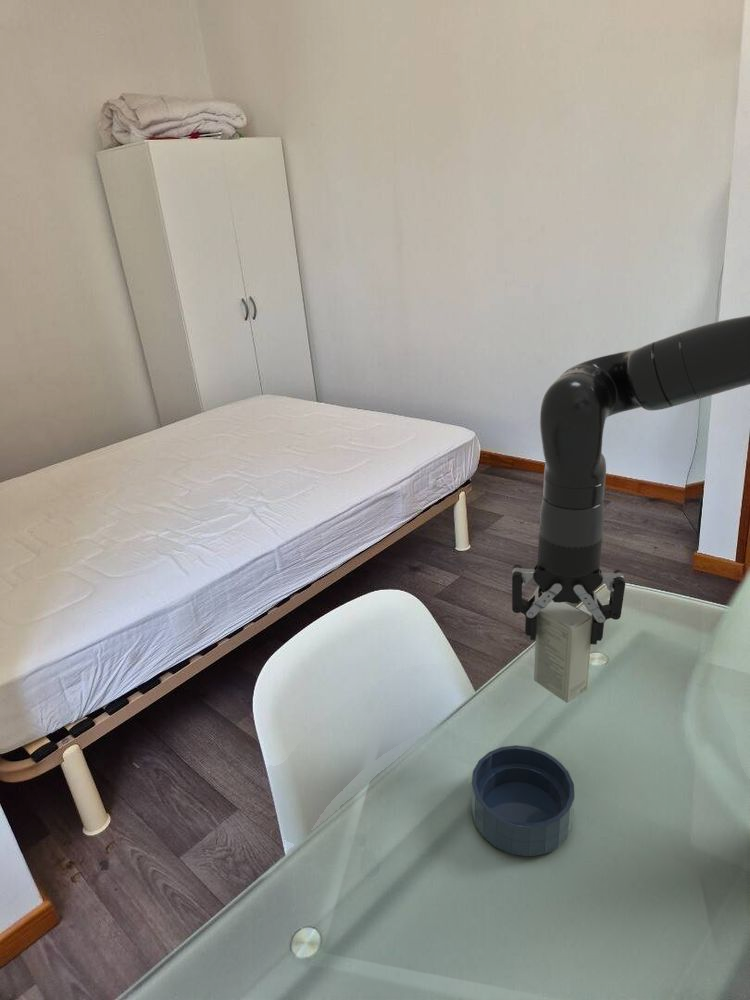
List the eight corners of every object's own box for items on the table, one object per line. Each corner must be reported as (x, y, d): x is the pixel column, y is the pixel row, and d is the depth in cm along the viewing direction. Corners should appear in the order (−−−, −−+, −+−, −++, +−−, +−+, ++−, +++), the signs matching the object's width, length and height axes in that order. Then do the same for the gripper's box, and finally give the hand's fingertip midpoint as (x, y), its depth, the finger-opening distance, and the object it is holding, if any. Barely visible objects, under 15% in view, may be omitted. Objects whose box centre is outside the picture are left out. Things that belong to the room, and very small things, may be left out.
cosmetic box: (588, 690, 93) (596, 617, 88) (566, 705, 91) (573, 630, 86) (552, 667, 98) (558, 595, 93) (530, 680, 96) (535, 607, 91)
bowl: (569, 782, 98) (572, 751, 95) (572, 866, 86) (576, 834, 84) (476, 770, 100) (476, 740, 98) (467, 850, 89) (467, 818, 86)
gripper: (510, 542, 82) (507, 652, 89) (636, 547, 79) (623, 661, 86) (511, 513, 89) (508, 618, 96) (628, 517, 86) (616, 625, 93)
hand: (562, 638), depth 91 cm, fingers closed on cosmetic box, 7 cm apart
